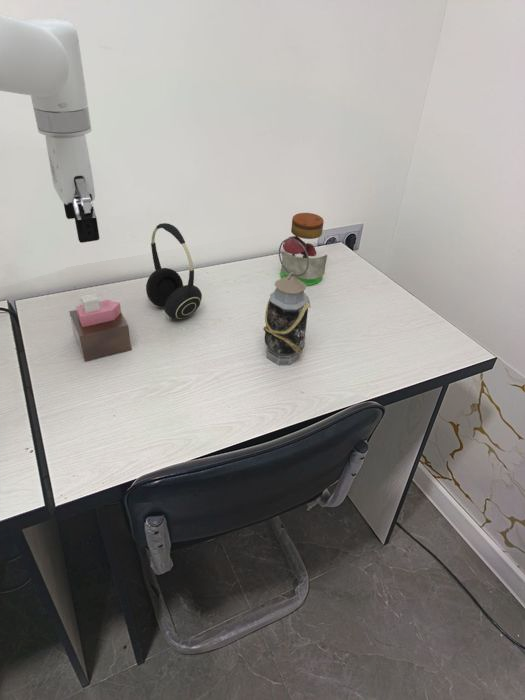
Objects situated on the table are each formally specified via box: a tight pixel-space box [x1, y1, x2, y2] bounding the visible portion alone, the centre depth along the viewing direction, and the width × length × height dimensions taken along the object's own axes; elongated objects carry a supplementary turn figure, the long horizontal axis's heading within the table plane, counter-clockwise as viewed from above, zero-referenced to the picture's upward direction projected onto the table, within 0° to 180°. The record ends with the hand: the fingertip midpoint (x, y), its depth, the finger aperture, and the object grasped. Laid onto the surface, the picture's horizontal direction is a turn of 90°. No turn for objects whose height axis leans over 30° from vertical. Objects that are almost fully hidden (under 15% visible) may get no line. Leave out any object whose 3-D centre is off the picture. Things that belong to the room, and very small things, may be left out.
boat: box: [75, 293, 122, 327], centre depth 93 cm, size 8×4×5 cm, turn 118°
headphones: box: [145, 222, 203, 320], centre depth 102 cm, size 9×15×20 cm, turn 41°
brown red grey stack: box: [279, 212, 328, 287], centre depth 120 cm, size 12×13×15 cm
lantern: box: [263, 237, 311, 366], centre depth 91 cm, size 9×8×25 cm
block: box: [68, 309, 132, 363], centre depth 96 cm, size 9×9×6 cm
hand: (82, 228), depth 83 cm, fingers open, 9 cm apart
